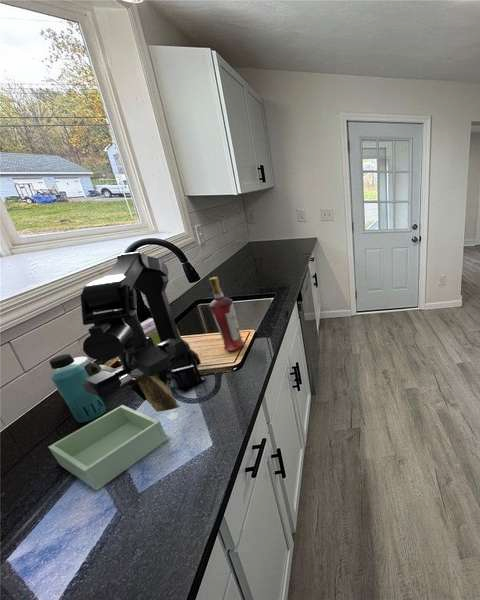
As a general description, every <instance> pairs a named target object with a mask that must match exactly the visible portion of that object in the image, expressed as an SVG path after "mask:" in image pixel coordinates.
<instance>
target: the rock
mask: <svg viewBox="0 0 480 600" xmlns="http://www.w3.org/2000/svg"><path fill="white" fill-rule="evenodd" d="M135 379H137V380H138V385H139V387H140V388H141V390H142V392H143V393H144V395H145V397H146V400H145V401H147V402H148V403H149V404H150V405H151V407H152V408H153V409H154V410H155V412H158V413H159V412H165V411H170V410H174V409H177V408H180V407H181V406H180V404H178V403H177V400H176V399H175V397H174V396H173V393H172V390H171V388H170V387H169V386H168V385H167V384H166V385H165V384H164V382H162V381H161V380H160V379H159V378H158V377H157V375H153V376H146V375H145V374H144V373H143V374H142V375H138V377H136V378H135Z"/></svg>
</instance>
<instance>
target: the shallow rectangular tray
mask: <svg viewBox="0 0 480 600" xmlns="http://www.w3.org/2000/svg"><path fill="white" fill-rule="evenodd" d="M168 440H169V438H168V436H167V434H166V432H165V430H164V428H163V425H162V423H161V422H160V421H159V420H157V419H155V418H153V417H151V416H148V415H147V414H144V413H142V412H139V411H137V410H135V409H133V408H130V407H129V406H126V405H124V404H121V405H119V406H118V407H116V408H114V409H113V410H110V411H109V412H107V413H105V414H103V415H101V416H99V417H97V418H95V419H94V420H92V421H90V422H89V423H87V424H86V425H84V426H82V427H81V428H79V429H77V430H75V431H73V432H72V433H69V434H68V435H66V436H65V437H63V438H61V439H60V440H59V439H58V441H55V442H54V443H52V444H51V445H48V447H47V448H48V449H49V451H50V452H51V454H52V455H53V457H54V458H55V460H56V461H57V463H58V464H59V465H60V467H62V468H64V469H65V470H66V471H68V472H69V473H71V474H72V475H74V476H75V477H77V478H78V479H80V480H81V481H82V482H83V483H85V484H86V485H88V486H89V487H91V488H92V489H94V490H95V491H99V490H100V489H101V488H103V487H104V486H106V485H107V484H108V483H110V482H111V481H112V480H114V479H115V478H116V477H118V476H119V475H121V474H122V473H124V472H125V471H126V470H128V469H129V468H131V466H133V465H134V464H136V463H138V461H140V460H142V459H143V458H144V457H146V456H147V455H148V454H150V453H152V451H154V450H155V449H157V448H158V447H159V446H161V445H162V444H164V443H165V442H166V441H168Z"/></svg>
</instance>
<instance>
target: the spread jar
mask: <svg viewBox="0 0 480 600" xmlns="http://www.w3.org/2000/svg"><path fill="white" fill-rule="evenodd" d="M72 358H73V357H72ZM73 359H74V362H73V363H72V364H78V365H82V366H84V368H85V370H86V372H87V374H88V375H89V377H91V376H93V375H95V374H97V373H99V372H101V371H103V370H104V371H107V372H110V373H113V372H115V371H117V370H118V369H117V370H116V368H114V367H111V366H109V365H105V364H98V363H95V362H92V361H90V360H89V358H88V356H77V357H74V358H73ZM72 364H70V365H72ZM59 369H60V368H59ZM56 370H58V369H56ZM56 389H57V391H58V392H59V390H58V388H57V387H56ZM59 394H60V396H61V397H62V395H61V393H60V392H59Z"/></svg>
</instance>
